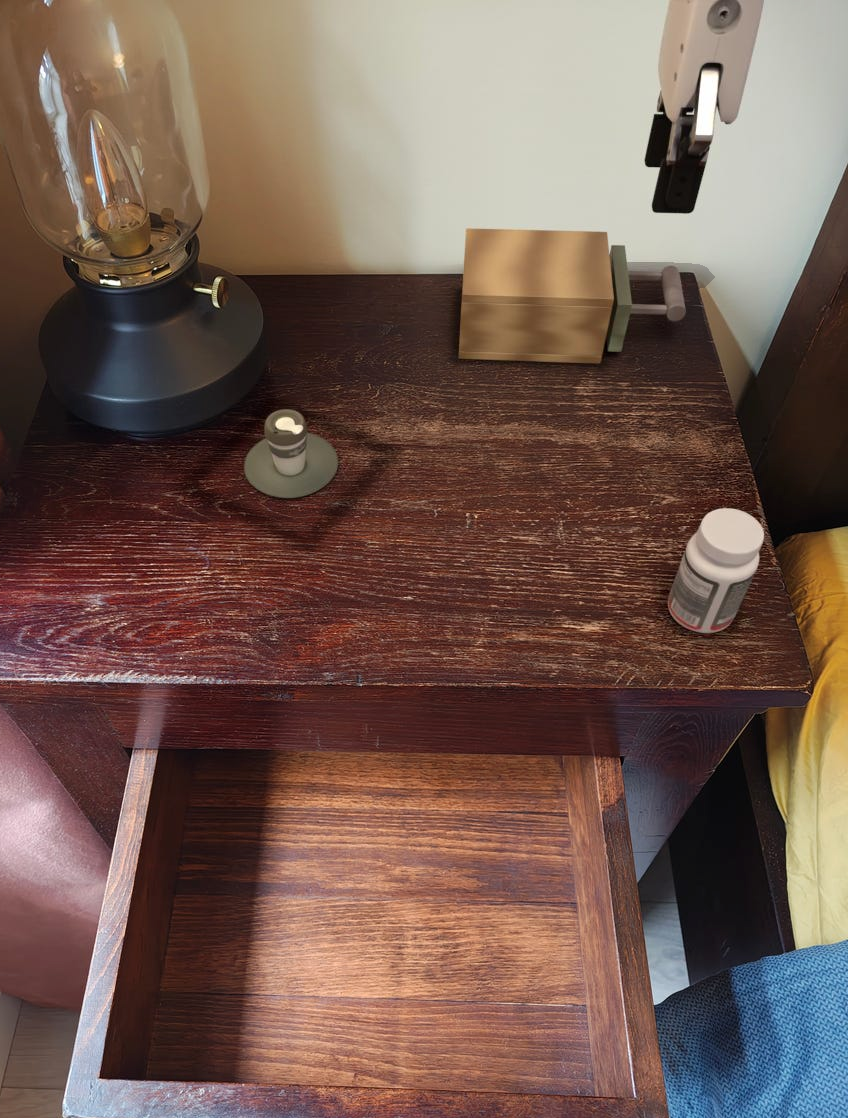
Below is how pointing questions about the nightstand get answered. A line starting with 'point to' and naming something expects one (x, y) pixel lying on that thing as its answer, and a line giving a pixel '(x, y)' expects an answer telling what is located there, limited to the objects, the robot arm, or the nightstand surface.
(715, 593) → the pill bottle
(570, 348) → the cabinet
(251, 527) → the nightstand surface
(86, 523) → the nightstand surface
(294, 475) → the coffee cup
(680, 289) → the drawer
